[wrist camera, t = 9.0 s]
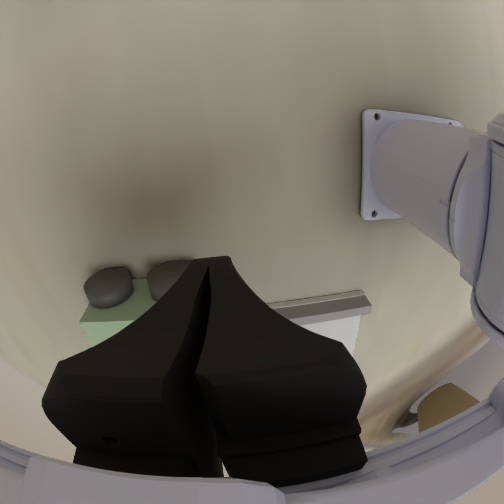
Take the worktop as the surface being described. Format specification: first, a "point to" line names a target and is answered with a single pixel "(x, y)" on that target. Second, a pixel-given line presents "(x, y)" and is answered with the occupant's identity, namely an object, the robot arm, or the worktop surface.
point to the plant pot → (443, 405)
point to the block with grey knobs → (165, 275)
